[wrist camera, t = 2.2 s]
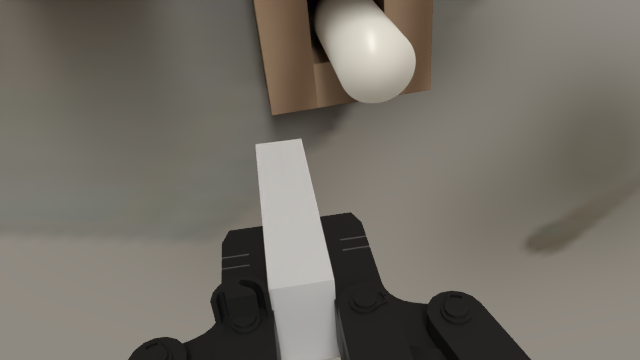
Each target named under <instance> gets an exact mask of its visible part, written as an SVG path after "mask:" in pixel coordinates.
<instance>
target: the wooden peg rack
mask: <svg viewBox="0 0 640 360" xmlns="http://www.w3.org/2000/svg"><path fill="white" fill-rule="evenodd" d="M373 1H374V2H375V4H376V5H377V6H378V7H379V8H380V9H381V10H382V11H383V12H384V14H385V15H386V16H387V17H388V18H389V19H390V20H391V21H392V23H393V24H394V25H395V26H396V27H397V28H398V29H399V30H400V32H401V33H402V34H403V35H404V36H405V37H406V38H407V39H408V41H409V42H410V43H411V45H412V47H413V49H414V52H415V58H416V65H415V71H414V74H413V77H412V79H411V81H410V82H409V84H408V85H407V87H406V88H405V89H404V90H403V91H402V92H401V93H400V94H398V95H401V94H407V93H413V92H420V91H426V90H430V86H431V50H432V14H433V0H373ZM252 2H253V8H254V14H255V20H256V26H257V33H258V39H259V45H260V51H261V57H262V64H263V70H264V76H265V82H266V88H267V93H268V97H269V102H270V107H271V112H272V115H278V114H284V113H290V112H296V111H302V110H308V109H315V108H321V107H327V106H333V105H339V104H345V103H352V102H358V101H357V100H355V99H354V98H352V97H351V96H350V95H348V93H347V92H346V91H345V90H344V88H343V87H342V85H341V83H340V80H339V78H338V76H337V74H336V72H335V70H334V68H333V66H332V64H331V62H330V60H329V58H328V56H327V54H326V52H325V50H324V48H323V46H322V44H321V42H320V40H319V38H316V39H311V37H310V27H309V18H308V8H307V0H252Z"/></svg>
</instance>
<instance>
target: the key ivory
mask: <svg viewBox="0 0 640 360" xmlns="http://www.w3.org/2000/svg"><path fill="white" fill-rule="evenodd" d="M313 25H314V29H315V32H316V34H317V36H318V38H319V40H320V42H321V44H322V46H323V48H324V50H325V52H326V54H327V56H328V58H329V60H330V62H331V64H332V66H333V68H334V70H335V72H336V74H337V76H338V78H339V80H340V83H341V85H342V87H343V88H344V90H345V91H346V92H347V93H348V95H350V96H351V97H352V98H354V99H355V100H357V101H360V102H363V103H368V104H376V103H382V102H385V101H388V100H390V99H392V98H394V97H395V96H397V95H398V94H400V93H401V92H402V91H403V90H404V89H405V88H406V87H407V85H408V84H409V82H410V81H411V79H412V77H413V74H414V71H415V65H416V58H415V52H414V49H413V47H412V45H411V43H410V42H409V41H408V39H407V38H406V37H405V36H404V35H403V34H402V33H401V32H400V30H399V29H398V28H397V27H396V26H395V25H394V24H393V23H392V21H391V20H390V19H389V18H388V17H387V16H386V15H385V14H384V12H383V11H382V10H381V9H380V8H379V7H378V6H377V5H376V4H375V2H374V1H373V0H319V1H318V3H317V5H316V7H315V10H314V14H313Z"/></svg>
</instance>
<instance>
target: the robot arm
mask: <svg viewBox="0 0 640 360" xmlns="http://www.w3.org/2000/svg"><path fill="white" fill-rule="evenodd" d="M256 156H257V167H258V178H259V190H260V201H261V212H262V222H263V226H260V227H253V228H245V229H238V230H231V231H229V232H228V234H227V236H226V238H225V239H224V241H223V243H222V284H220V285H219V286H218V287H217V289H216V290H215V291H214V292H213V294H212V298H211V301H210V302H211V306H212V309H213V313H214V317H215V321H216V323H215V325H214V326H213V327H212V328H211V329H210V330H208V331H207V332H206V333H205V334H203V335H201V336H199V337H197V338H195V339H193V340H190V341H188V342H186V343H183V344H182V343H181V342H180V341H178V340H177V339H174V338H169V337H162V338H155V339H153V340H150V341H148V342H145V343H143V344H142V345H141V346H140V347H138V348H137V349H136V350H135V351H134V352H133V353H132V355H131V356H130V358H129V359H128V360H325V359H330V358H336V357H341V360H531V359H530V358H529V357H528V356H527V355H526V354H525V352H524V351H523V350H522V349H521V348H520V347H519V346H518V344H517V343H516V342H515V341H514V340H513V339H512V338H511V337H510V335H509V334H508V333H507V332H506V331H505V330H504V329H503V328H502V327H501V325H500V324H499V323H498V322H497V321H496V320H495V318H494V317H493V316H492V315H491V314H490V313H489V312H488V311H487V309H486V308H485V307H484V306H483V305H482V304H481V303H480V302H479V301H477V300H476V299H475V298H474V297H473V296H471V295H468V294H466V293H463V292H457V291H447V292H442V293H439V294H438V295H436V296H434V297H432V299H431V300H430V302H429V303H428V304H422V303H413V302H408V301H403V300H401V299H398V298H396V297H394V296H393V295H391V294H390V293H389V292H388V291H387V290H386V289H385V288H384V286H383V284H382V282H381V279H380V276H379V273H378V270H377V267H376V264H375V261H374V258H373V255H372V252H371V249H370V247H369V243H368V240H367V237H366V234H365V231H364V228H363V225H362V223H361V221H360V220H358V219H357V218H356V217H355V216H354V215H353V214H352V213H351V212H350V213H343V214H336V215H329V216H322V217H320V216H319V212H318V208H317V204H316V199H315V195H314V191H313V187H312V182H311V178H310V174H309V170H308V165H307V161H306V157H305V152H304V148H303V144H302V140H301V139H295V140H287V141H279V142H271V143H264V144H256Z"/></svg>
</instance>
